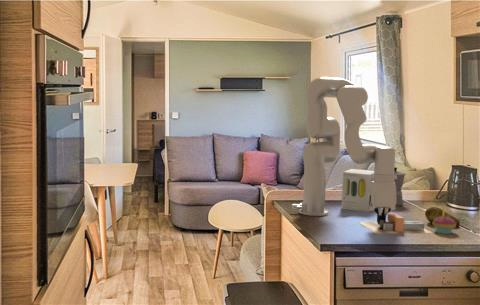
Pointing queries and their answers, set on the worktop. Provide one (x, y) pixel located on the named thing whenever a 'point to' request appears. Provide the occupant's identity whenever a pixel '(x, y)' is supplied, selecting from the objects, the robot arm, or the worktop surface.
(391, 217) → the lock collar
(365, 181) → the supplement box
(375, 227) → the board
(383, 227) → the fixed jaw
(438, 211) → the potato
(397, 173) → the coffeepot
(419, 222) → the jaw
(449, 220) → the cupcake
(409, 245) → the worktop surface
